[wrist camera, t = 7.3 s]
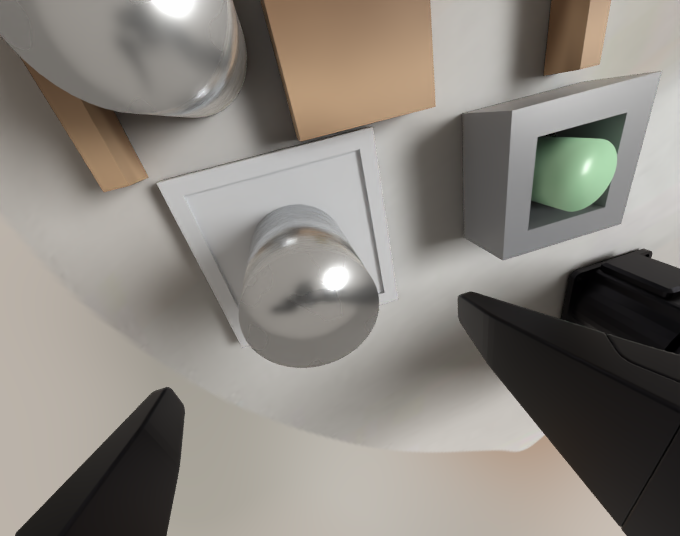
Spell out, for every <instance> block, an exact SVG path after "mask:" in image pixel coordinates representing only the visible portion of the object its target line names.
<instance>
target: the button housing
mask: <svg viewBox="0 0 680 536" xmlns="http://www.w3.org/2000/svg"><path fill="white" fill-rule="evenodd" d="M661 73H662V71H658V72H651V73H643V74H636V75H628V76H621V77H614V78H606V79H599V80H591V81H584V82H580V83H576V84H573V85H569V86H565V87H561V88H557V89H554V90H550V91H546V92H542V93H538V94H534V95H531V96H527V97H523V98H519V99H515V100H512V101H508V102H504V103H500V104H496V105H493V106H489V107H485V108H481V109H477V110H473V111H470V112H466V113H462V114H463V205H464V238H466V239H468V240H469V241H471V242H473V243H474V244H476V245H478V246H479V247H481V248H483V249H484V250H486V251H488V252H489V253H491V254H493V255H495V256H496V257H498V258H500V259H501V260H506V259H509V258H512V257H516V256H519V255H522V254H525V253H528V252H532V251H535V250H538V249H541V248H545V247H548V246H551V245H554V244H557V243H561V242H564V241H567V240H570V239H574V238H577V237H580V236H583V235H586V234H590V233H593V232H596V231H599V230H603V229H606V228H609V227H612V226H615V225H619V224H621V222H622V218H623V214H624V211H625V207H626V203H627V200H628V196H629V192H630V188H631V185H632V181H633V177H634V174H635V170H636V166H637V162H638V159H639V155H640V151H641V147H642V144H643V140H644V136H645V133H646V129H647V125H648V121H649V118H650V114H651V110H652V107H653V103H654V99H655V95H656V92H657V88H658V84H659V81H660V77H661ZM554 132H556V137H573V138H595V139H605V140H608V141H609V142H611V143H612V144H613V146H614V147H615V149H616V153H617V166H616V170H615V173H614V176H613V178H612V180H611V182H610V184H609V186H608V187H607V189H606V190H605V191H604V193H603V194H602V195H601V196H600V197H599V198H598V199H597V200H596V201H595V202H594V203H592V204H591V205H589V206H588V207H586V208H584V209H582V210H579V211H574V212H568V211H564V210H561V209H557V208H554V207H551V206H547V205H544V204H541V203H537V202H534V201H531V195H532V186H533V176H534V167H535V157H536V148H537V138H538V137H540V136H543V135H547V134H551V133H554Z"/></svg>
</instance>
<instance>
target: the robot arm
mask: <svg viewBox="0 0 680 536" xmlns="http://www.w3.org/2000/svg"><path fill="white" fill-rule="evenodd" d="M651 257H652V251H649V250H646V249H641V250H638V251H634V252H631V253H628V254H625V255H622V256H619V257H616V258H613V259H609V260H606V261H603V262H600V263H597V264H594V265H591V266H588V267H584V268H581V269H578V270H576V271H574V272H573V273H572V274H571V275H570V277H569V281H568V286H567V292H566V297H565V302H564V307H563V312H562V317H561V319H558V318H555V317H552V316H549V315H545V314H542V313H539V312H536V311H533V310H529V309H526V308H523V307H520V306H517V305H513V304H510V303H507V302H504V301H500V300H497V299H494V298H491V297H488V296H484V295H481V294H478V293H475V292H467V293H464V294H461V295H459V296H458V318H459V321H460V323H461V324H462V326H463V327H464V329H465V330H466V332H467V334H468V335H469V337H470V338H471V340H472V341H473V343H474V344H475V346H476V347H477V349H478V350H479V352H480V354H481V355H482V357H483V358H484V360H485V361H486V362H487V364H488V365H489V366H490V368H491V369H492V370H493V371H494V373H495V374H496V375H497V376H498V378H499V379H500V380H501V381H502V382H503V384H504V385H505V386H506V387H507V389H508V390H509V391H510V392H511V394H512V395H513V396H514V397H515V398H516V400H517V401H518V402H519V403H520V405H521V406H522V407H523V408H524V410H525V411H526V412H527V413H528V414H529V416H530V417H531V418H532V419H533V421H534V422H535V423H536V424H537V426H538V427H539V428H540V429H541V430H542V432H543V433H544V434H545V435H546V437H547V438H548V439H549V440H550V441H551V443H552V444H553V445H554V446H555V448H556V449H557V450H558V451H559V453H560V454H561V455H562V456H563V458H564V459H565V460H566V461H567V462H568V464H569V465H570V466H571V467H572V468H573V470H574V471H575V472H576V473H577V475H578V476H579V477H580V478H581V480H582V481H583V482H584V483H585V485H586V486H587V487H588V488H589V489H590V491H591V492H592V493H593V494H594V496H596V498H597V499H598V500H599V502H600V503H601V504H602V505H603V507H604V508H605V509H606V510H607V512H608V513H609V514H610V515H611V517H613V519H614V520H615V521H616V523H617V524H618V525H619V526H620V527H621V529H622V530H623V532H624V533H625V534H626V535H627V536H680V269H679V268H677V267H674V266H671V265H668V264H665V263H663V262H660V261H657V260H654V259H651ZM184 416H185V409H184V405H183V403H182V402H181V401H180V399H179V398H178V397H177V395H176V394H175V393H174V391H173V390H172V389H171V388H169V387H166V388H163V389H159V390H156V391H154V392H152V393H151V394H150V395H149V396H148V397H147V398H146V399H145V400H144V401H143V402H142V403H141V405H140V406H139V407H138V408H137V409H136V410H135V411H134V412H133V413H132V414H131V415H130V416H129V417H128V418H127V419H126V420H125V421H124V422H123V423H122V424H121V425H120V426H119V427H118V428H117V429H116V430H115V431H114V432H113V433H112V434H111V436H109V437H108V439H107V440H106V441H105V442H104V443H103V444H102V445H101V446H100V447H99V448H98V449H97V450H96V451H95V452H94V453H93V454H92V455H91V456H90V457H89V458H88V459H87V460H86V461H85V462H84V463H83V464H82V465H81V466H80V467H79V468H78V469H77V471H76V472H75V473H74V474H73V475H72V476H71V477H70V478H69V479H68V480H67V481H66V482H65V483H64V484H63V485H62V486H61V487H60V488H59V489H58V490H57V491H56V492H55V493H54V494H53V495H52V496H51V497H50V498H49V499H48V500H47V502H46V503H45V504H44V505H43V506H42V507H41V508H40V509H39V510H38V511H37V512H36V513H35V514H34V515H33V516H32V517H31V518H30V519H29V520H28V521H27V522H26V523H25V524H24V525H23V526H22V527H21V528H20V529H19V530H18V531H17V532H16V534H15V536H166V535H167V529H168V525H169V520H170V514H171V509H172V504H173V499H174V494H175V489H176V484H177V479H178V473H179V467H180V459H181V449H182V438H183V427H184Z"/></svg>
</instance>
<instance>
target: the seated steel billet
mask: <svg viewBox="0 0 680 536" xmlns="http://www.w3.org/2000/svg"><path fill="white" fill-rule="evenodd" d="M0 35H1V36H2V37H3V39H4V40H5V41H6V42H7V43H8V45H9V46H10V47H11V48H12V49H13V50H14V51H15V52H16V53H17V54H18V55H19V56H20V57H21V58H22V59H23V60H24V61H25V62H27V63H28V64H29V65H30V66H31V67H32V68H34V69H35V70H36V71H37V72H38V73H39V74H41V75H42V76H44V77H45V78H46V79H48V80H49V81H50V82H52V83H53V84H55V85H56V86H58V87H59V88H61V89H63V90H64V91H66V92H68V93H69V94H71V95H73V96H75V97H77V98H79V99H82V100H84V101H86V102H88V103H91V104H93V105H96V106H99V107H102V108H105V109H109V110H113V111H118V112H125V113H133V114H147V115H161V116H175V117H188V118H201V117H207V116H211V115H214V114H216V113H218V112H220V111H222V110H224V109H225V108H226V107H228V106H229V105H230V104H231V103H232V102H233V101H234V100H235V98H236V97H237V95H238V94H239V92H240V90H241V88H242V86H243V83H244V80H245V76H246V71H247V49H246V42H245V38H244V34H243V31H242V27H241V24H240V21H239V18H238V15H237V12H236V9H235V6H234V3H233V0H0Z"/></svg>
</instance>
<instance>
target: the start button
mask: <svg viewBox="0 0 680 536" xmlns="http://www.w3.org/2000/svg"><path fill="white" fill-rule="evenodd" d="M616 166H617V153H616V149H615V147H614V146H613V144H612V143H611V142H609V141H608V140H605V139H595V138H573V137H552V136H540V137H538V138H537V148H536V157H535V167H534V176H533V186H532V195H531V201H534V202H537V203H541V204H544V205H547V206H551V207H554V208H557V209H561V210H564V211H568V212H574V211H579V210H582V209H584V208H586V207H588V206H589V205H591V204H592V203H594V202H595V201H596V200H597V199H598V198H599V197H600V196H601V195H602V194H603V193H604V191H605V190H606V189H607V187H608V186H609V184H610V182H611V180H612V178H613V176H614V173H615V170H616Z"/></svg>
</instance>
